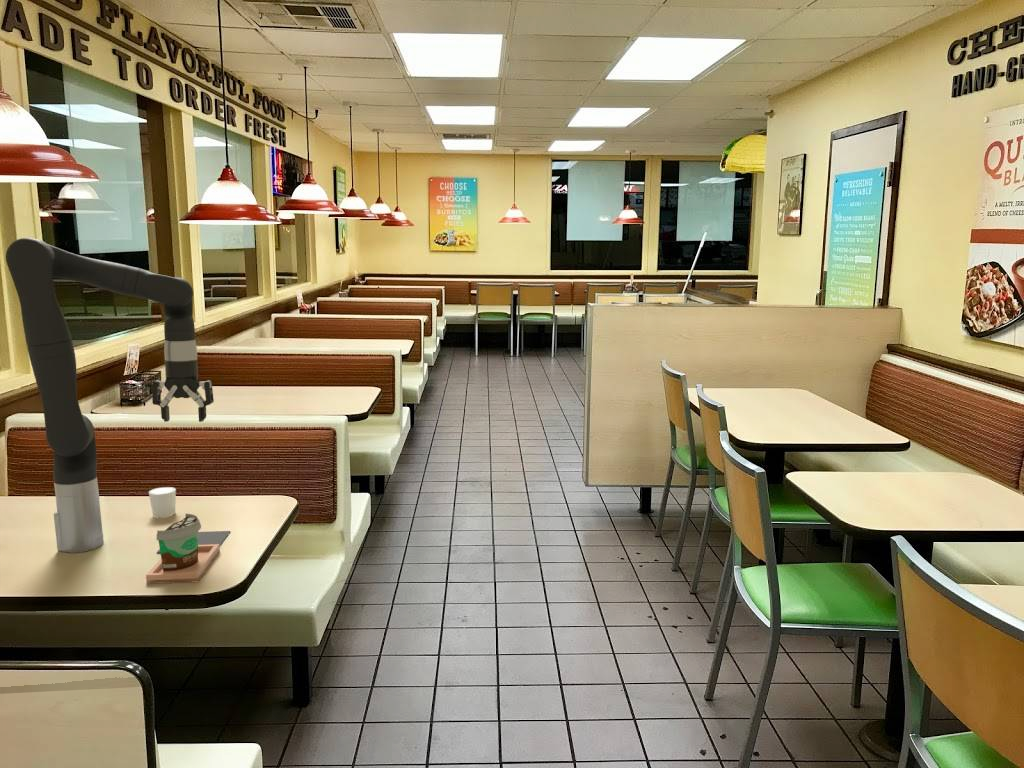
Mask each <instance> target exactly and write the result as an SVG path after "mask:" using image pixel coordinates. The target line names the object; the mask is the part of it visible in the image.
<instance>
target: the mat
mask: <svg viewBox="0 0 1024 768" xmlns="http://www.w3.org/2000/svg"><path fill="white" fill-rule="evenodd" d="M230 531H231V530H219V531H218V530H217V531H215V530H214V531H213V530H212V531H198V545H210V544H219V547H221V546H222V544H223V543H224V542H225V540H226V539H227V538H228V536H229V535H230V534H231V532H230ZM228 534H229V535H228ZM226 537H227V538H226ZM225 538H226V539H225ZM223 541H224V542H223ZM220 545H221V546H220ZM156 554H161V553H160V548H159V549H158V550H157V551H156Z"/></svg>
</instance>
